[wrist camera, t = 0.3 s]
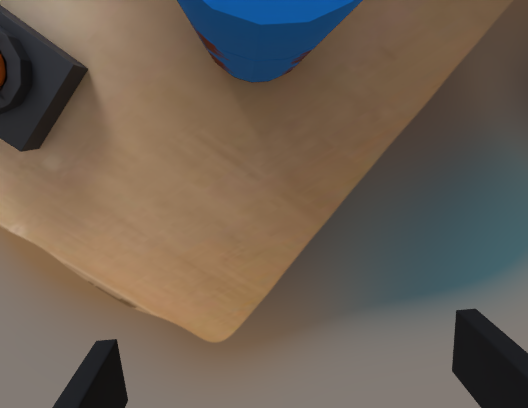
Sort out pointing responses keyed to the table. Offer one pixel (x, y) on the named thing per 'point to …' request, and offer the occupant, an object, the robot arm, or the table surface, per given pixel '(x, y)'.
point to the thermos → (263, 32)
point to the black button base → (32, 83)
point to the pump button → (2, 71)
